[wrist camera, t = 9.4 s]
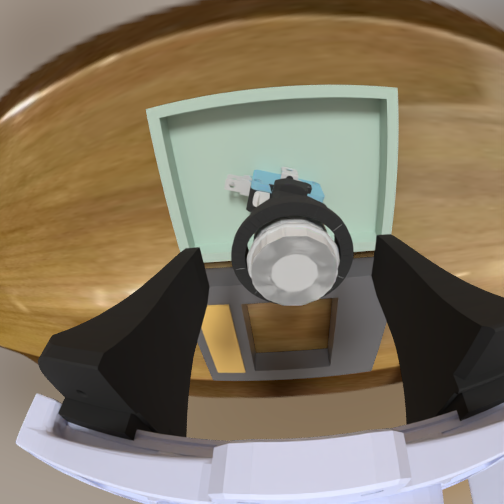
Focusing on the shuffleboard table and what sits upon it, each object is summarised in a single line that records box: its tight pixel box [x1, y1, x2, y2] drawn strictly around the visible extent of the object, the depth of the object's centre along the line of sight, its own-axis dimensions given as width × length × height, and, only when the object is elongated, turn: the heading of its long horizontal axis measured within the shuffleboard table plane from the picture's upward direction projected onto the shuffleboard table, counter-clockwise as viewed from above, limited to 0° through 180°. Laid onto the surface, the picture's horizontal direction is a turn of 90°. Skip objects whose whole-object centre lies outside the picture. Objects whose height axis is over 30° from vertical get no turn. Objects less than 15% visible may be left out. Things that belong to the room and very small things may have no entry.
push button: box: [224, 167, 354, 305], centre depth 16 cm, size 7×5×10 cm
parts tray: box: [146, 85, 398, 263], centre depth 19 cm, size 16×12×2 cm
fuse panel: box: [197, 257, 387, 381], centre depth 27 cm, size 18×14×3 cm
